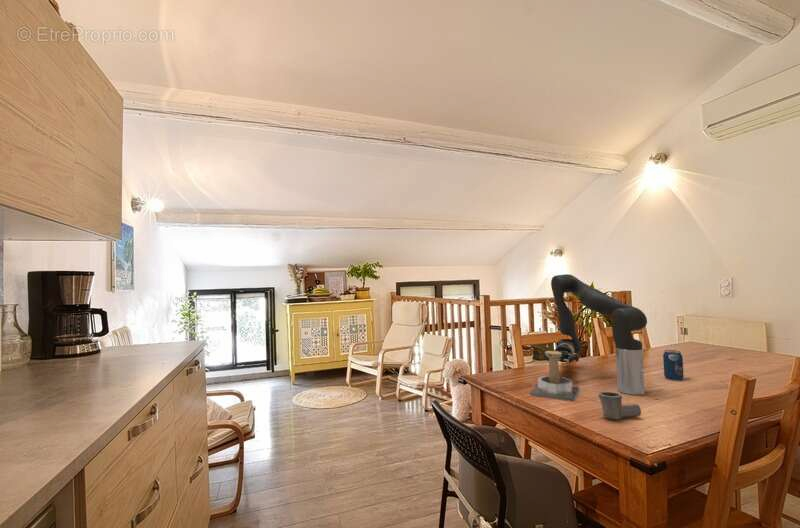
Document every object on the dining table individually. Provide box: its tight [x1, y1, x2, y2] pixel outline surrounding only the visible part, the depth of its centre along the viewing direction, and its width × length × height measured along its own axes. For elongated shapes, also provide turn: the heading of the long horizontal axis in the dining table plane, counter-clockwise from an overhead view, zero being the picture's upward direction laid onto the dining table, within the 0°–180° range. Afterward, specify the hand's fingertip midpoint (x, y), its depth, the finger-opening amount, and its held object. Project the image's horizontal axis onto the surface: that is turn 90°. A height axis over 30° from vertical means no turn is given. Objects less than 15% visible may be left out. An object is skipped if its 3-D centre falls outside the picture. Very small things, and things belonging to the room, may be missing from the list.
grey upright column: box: [545, 350, 562, 384], centre depth 152 cm, size 5×6×15 cm
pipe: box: [597, 391, 642, 421], centre depth 124 cm, size 6×13×8 cm, turn 89°
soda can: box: [662, 349, 685, 381], centre depth 165 cm, size 7×7×12 cm
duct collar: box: [529, 375, 580, 402], centre depth 152 cm, size 16×16×5 cm
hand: (558, 359), depth 161 cm, fingers open, 8 cm apart
